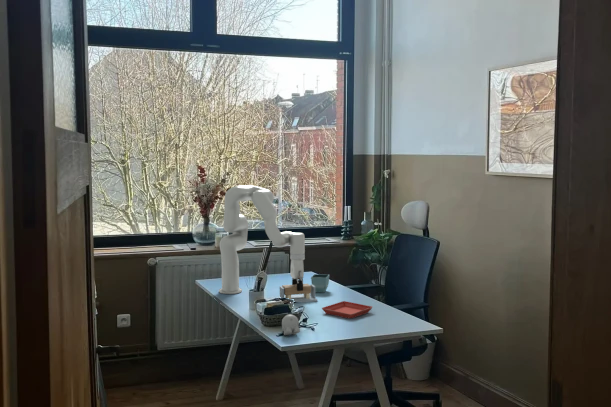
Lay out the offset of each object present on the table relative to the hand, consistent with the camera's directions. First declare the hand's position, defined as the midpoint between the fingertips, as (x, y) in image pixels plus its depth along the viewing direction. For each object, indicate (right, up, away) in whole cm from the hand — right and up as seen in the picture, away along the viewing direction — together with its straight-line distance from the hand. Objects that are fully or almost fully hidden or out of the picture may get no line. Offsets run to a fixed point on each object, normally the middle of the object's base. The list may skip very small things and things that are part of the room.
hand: (297, 288), depth 336 cm
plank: (0, -2, 0) cm, 2 cm away
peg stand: (0, -6, 0) cm, 6 cm away
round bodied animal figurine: (-3, -11, -62) cm, 63 cm away
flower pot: (+12, -4, +19) cm, 23 cm away
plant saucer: (+24, -9, -27) cm, 37 cm away
